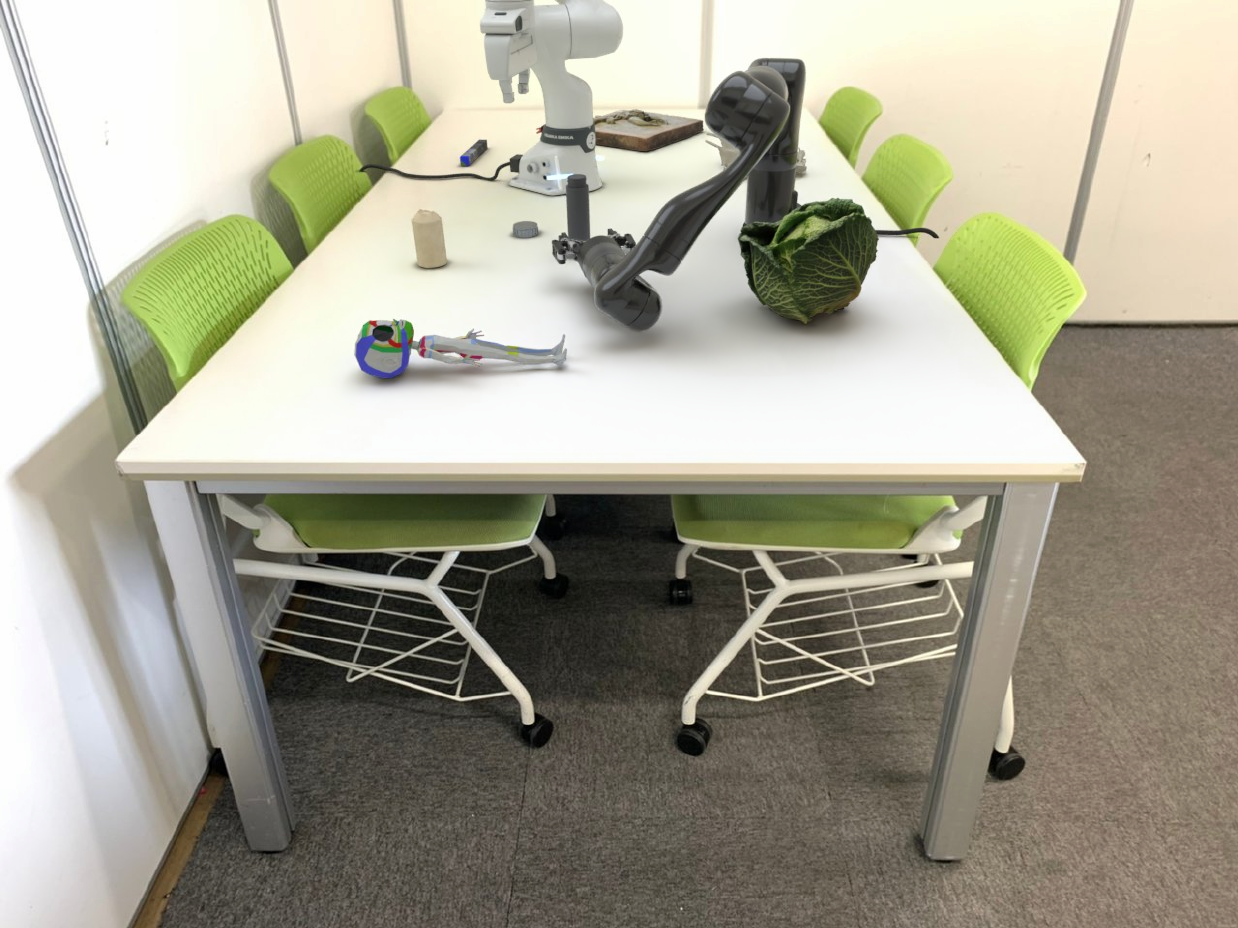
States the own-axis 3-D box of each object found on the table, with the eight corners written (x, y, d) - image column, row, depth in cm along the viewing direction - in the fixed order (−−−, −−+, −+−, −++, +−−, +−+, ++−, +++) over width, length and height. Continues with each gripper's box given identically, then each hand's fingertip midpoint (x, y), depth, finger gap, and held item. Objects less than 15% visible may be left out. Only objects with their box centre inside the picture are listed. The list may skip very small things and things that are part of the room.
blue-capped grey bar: (486, 139, 247) (467, 157, 231) (487, 147, 249) (468, 166, 232) (479, 139, 248) (459, 157, 231) (479, 147, 249) (460, 166, 232)
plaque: (647, 125, 237) (559, 112, 252) (647, 153, 241) (560, 139, 256) (706, 107, 258) (622, 97, 273) (705, 133, 262) (622, 121, 277)
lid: (516, 229, 187) (515, 220, 186) (540, 230, 187) (539, 221, 186) (510, 237, 183) (510, 228, 182) (535, 238, 182) (535, 229, 181)
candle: (452, 259, 172) (446, 207, 166) (438, 269, 167) (431, 216, 162) (426, 257, 173) (419, 205, 168) (412, 266, 169) (404, 213, 163)
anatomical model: (707, 129, 226) (808, 127, 222) (707, 166, 231) (805, 165, 227) (703, 143, 213) (809, 141, 210) (703, 182, 218) (807, 181, 215)
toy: (569, 347, 126) (349, 329, 122) (563, 400, 131) (350, 385, 126) (565, 318, 135) (359, 301, 130) (559, 369, 139) (360, 354, 134)
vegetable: (766, 338, 156) (713, 238, 148) (856, 276, 157) (807, 174, 149) (821, 359, 137) (763, 246, 129) (922, 289, 138) (870, 173, 131)
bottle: (590, 251, 175) (588, 173, 167) (591, 258, 172) (588, 179, 164) (568, 251, 175) (565, 173, 167) (568, 259, 171) (565, 179, 163)
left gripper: (511, 11, 173) (516, 88, 180) (476, 24, 156) (483, 108, 163) (542, 11, 172) (546, 88, 179) (510, 24, 155) (516, 108, 162)
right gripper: (646, 239, 149) (624, 212, 162) (562, 247, 146) (546, 218, 159) (646, 282, 153) (624, 252, 166) (564, 290, 150) (548, 259, 163)
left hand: (516, 98), depth 171 cm, fingers open, 8 cm apart
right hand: (586, 235), depth 163 cm, fingers open, 8 cm apart
